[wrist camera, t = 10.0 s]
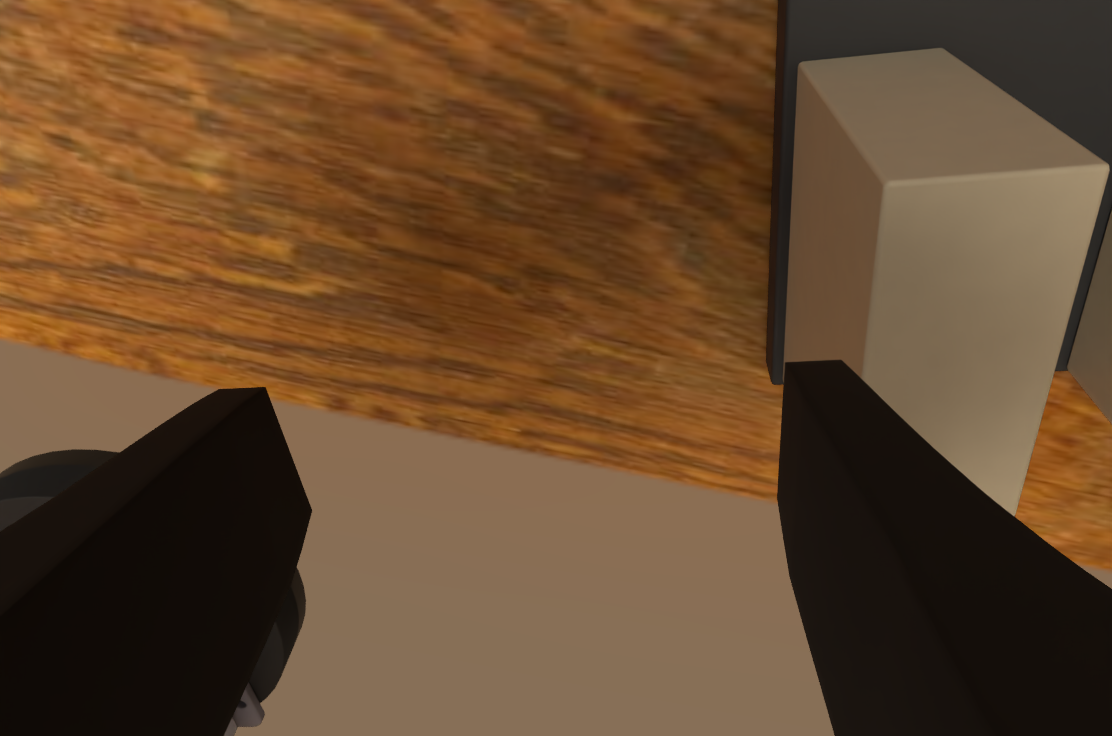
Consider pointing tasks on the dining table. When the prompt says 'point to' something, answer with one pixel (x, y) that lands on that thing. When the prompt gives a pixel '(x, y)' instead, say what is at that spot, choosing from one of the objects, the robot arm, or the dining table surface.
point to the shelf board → (985, 46)
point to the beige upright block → (1096, 333)
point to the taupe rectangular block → (937, 249)
